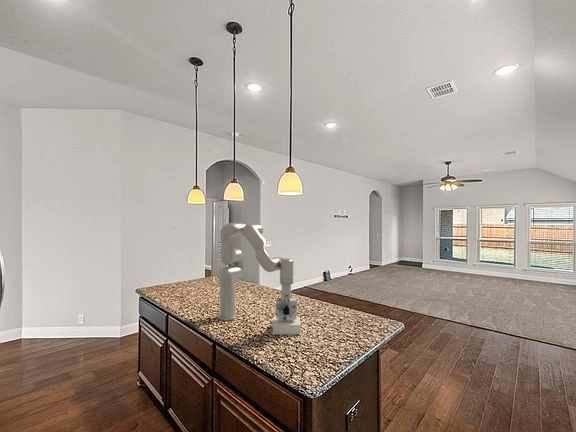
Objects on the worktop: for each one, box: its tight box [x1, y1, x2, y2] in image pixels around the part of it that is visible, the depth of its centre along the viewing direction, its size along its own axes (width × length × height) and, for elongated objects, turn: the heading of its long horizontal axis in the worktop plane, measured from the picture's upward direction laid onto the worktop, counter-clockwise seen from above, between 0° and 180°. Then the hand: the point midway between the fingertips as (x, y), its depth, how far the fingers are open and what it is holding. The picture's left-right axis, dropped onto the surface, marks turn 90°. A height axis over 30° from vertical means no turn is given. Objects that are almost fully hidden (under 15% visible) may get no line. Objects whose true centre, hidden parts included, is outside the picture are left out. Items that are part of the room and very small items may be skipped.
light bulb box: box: [275, 296, 298, 321], centre depth 157 cm, size 11×7×11 cm, turn 105°
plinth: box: [272, 316, 301, 335], centre depth 157 cm, size 13×15×5 cm
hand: (286, 311), depth 157 cm, fingers closed on light bulb box, 7 cm apart
